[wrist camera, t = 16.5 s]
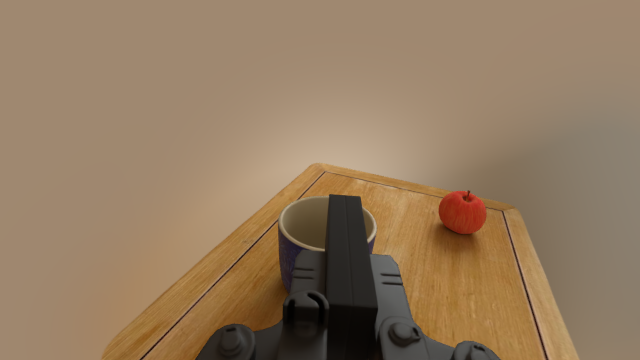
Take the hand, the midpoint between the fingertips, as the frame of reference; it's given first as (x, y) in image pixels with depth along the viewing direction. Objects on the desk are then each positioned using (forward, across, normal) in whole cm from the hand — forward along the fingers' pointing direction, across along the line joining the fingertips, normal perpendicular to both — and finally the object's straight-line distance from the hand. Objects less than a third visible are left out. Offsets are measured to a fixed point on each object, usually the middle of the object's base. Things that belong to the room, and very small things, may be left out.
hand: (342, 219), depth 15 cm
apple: (+37, +25, -24) cm, 51 cm away
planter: (+20, 0, -24) cm, 31 cm away
